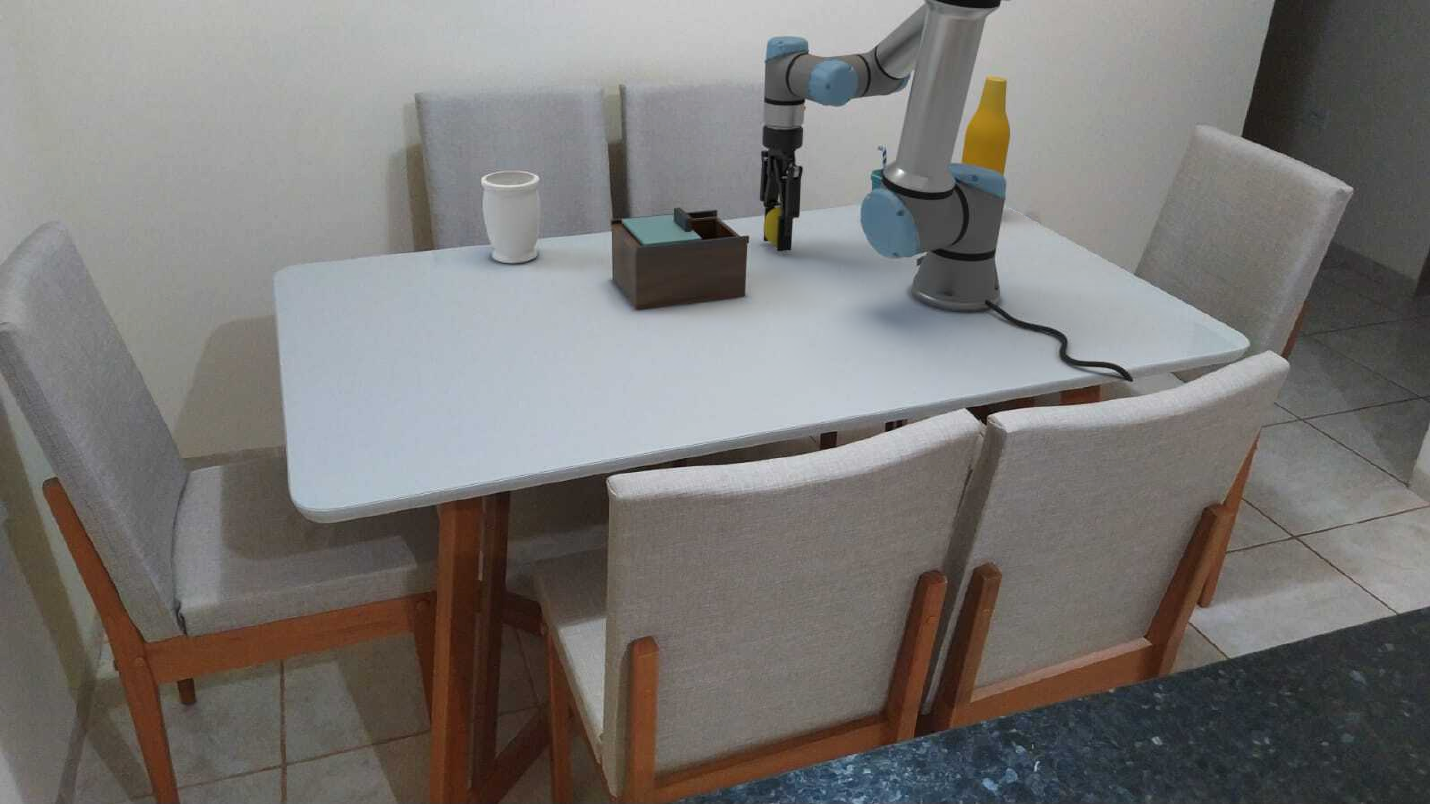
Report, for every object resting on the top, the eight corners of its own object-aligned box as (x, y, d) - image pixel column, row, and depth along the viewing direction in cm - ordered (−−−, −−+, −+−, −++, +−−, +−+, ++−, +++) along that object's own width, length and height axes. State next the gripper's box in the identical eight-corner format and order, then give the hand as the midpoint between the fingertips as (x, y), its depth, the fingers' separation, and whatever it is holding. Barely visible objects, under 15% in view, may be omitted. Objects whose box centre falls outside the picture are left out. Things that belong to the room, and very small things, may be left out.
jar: (512, 243, 204) (507, 167, 197) (554, 253, 199) (550, 176, 192) (474, 258, 196) (468, 180, 188) (517, 270, 191) (512, 190, 184)
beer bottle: (975, 206, 234) (996, 73, 220) (1005, 218, 227) (1029, 81, 213) (944, 212, 229) (963, 76, 215) (974, 224, 222) (996, 85, 209)
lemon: (776, 253, 201) (778, 212, 197) (757, 245, 205) (758, 205, 201) (797, 247, 204) (799, 207, 200) (777, 240, 208) (779, 200, 204)
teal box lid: (701, 241, 176) (702, 224, 175) (645, 247, 173) (645, 229, 171) (675, 217, 187) (675, 201, 185) (621, 222, 183) (621, 205, 182)
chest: (746, 297, 183) (749, 236, 178) (637, 311, 176) (637, 248, 171) (714, 267, 196) (716, 209, 190) (611, 279, 189) (610, 219, 183)
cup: (855, 212, 228) (861, 143, 220) (889, 211, 229) (896, 142, 222) (874, 233, 215) (882, 161, 208) (910, 232, 217) (919, 160, 210)
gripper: (824, 135, 187) (815, 258, 198) (780, 113, 202) (774, 229, 213) (786, 138, 185) (779, 262, 195) (744, 115, 200) (740, 232, 211)
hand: (777, 245), depth 204 cm, fingers closed on lemon, 5 cm apart
